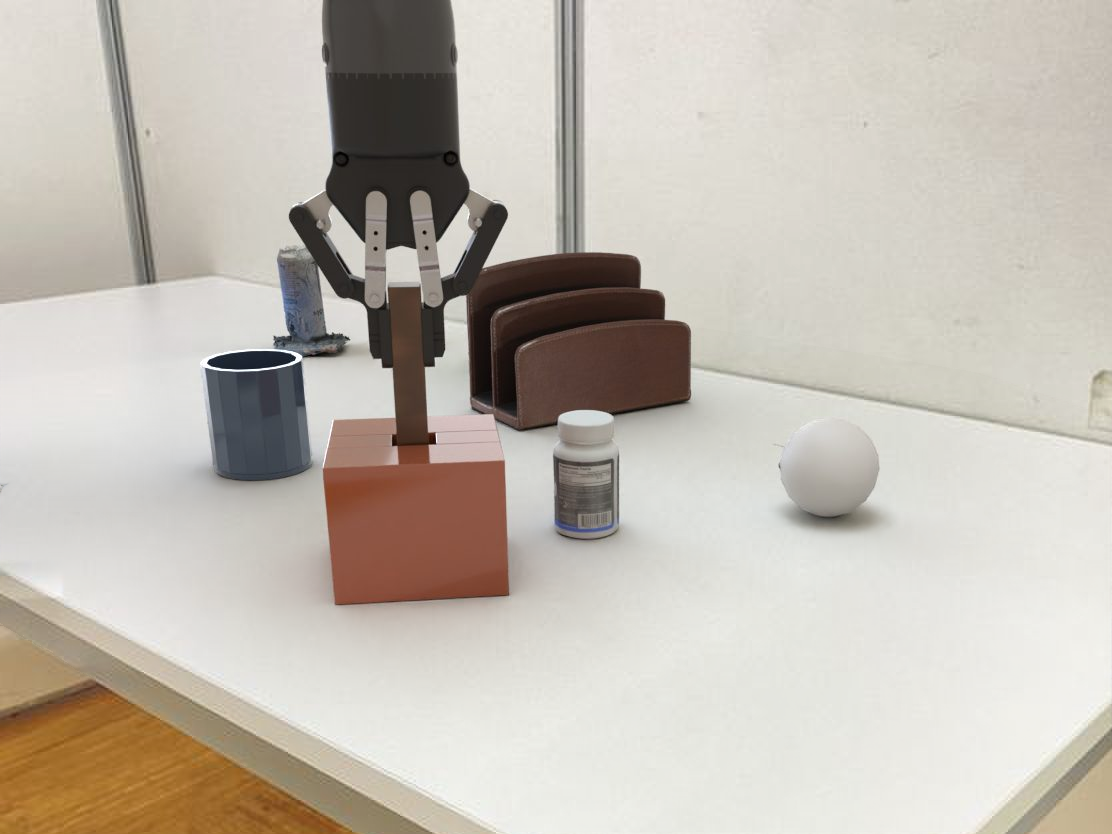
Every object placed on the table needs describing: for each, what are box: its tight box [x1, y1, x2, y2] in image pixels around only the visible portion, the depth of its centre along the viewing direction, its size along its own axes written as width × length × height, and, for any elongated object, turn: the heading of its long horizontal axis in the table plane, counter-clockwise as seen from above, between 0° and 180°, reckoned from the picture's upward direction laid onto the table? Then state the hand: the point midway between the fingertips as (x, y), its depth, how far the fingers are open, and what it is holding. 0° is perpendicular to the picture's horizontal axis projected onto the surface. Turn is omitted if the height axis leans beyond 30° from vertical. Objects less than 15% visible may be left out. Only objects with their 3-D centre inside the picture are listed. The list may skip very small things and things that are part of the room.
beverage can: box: [272, 245, 351, 358], centre depth 144 cm, size 9×8×12 cm
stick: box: [387, 281, 429, 446], centre depth 80 cm, size 2×2×16 cm
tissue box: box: [321, 413, 510, 605], centre depth 83 cm, size 11×11×9 cm
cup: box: [199, 348, 313, 481], centre depth 104 cm, size 8×8×9 cm
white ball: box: [771, 417, 881, 518], centre depth 94 cm, size 10×7×7 cm
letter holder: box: [465, 251, 692, 431], centre depth 121 cm, size 10×20×14 cm, turn 123°
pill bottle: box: [552, 410, 620, 540], centre depth 90 cm, size 5×5×8 cm
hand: (408, 363), depth 79 cm, fingers closed on stick, 2 cm apart
